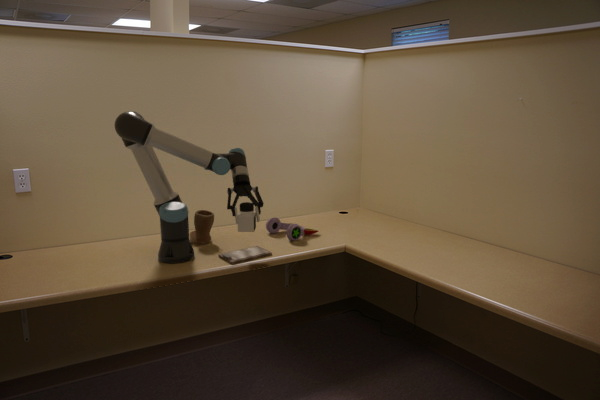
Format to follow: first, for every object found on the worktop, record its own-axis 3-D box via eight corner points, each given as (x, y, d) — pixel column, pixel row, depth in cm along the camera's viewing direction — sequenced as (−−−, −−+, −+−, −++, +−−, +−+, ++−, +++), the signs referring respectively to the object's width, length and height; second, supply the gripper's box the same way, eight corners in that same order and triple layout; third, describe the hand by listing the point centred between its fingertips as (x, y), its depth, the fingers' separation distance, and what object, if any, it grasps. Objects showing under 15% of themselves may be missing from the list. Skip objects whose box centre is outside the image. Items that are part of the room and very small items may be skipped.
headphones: (264, 219, 228) (294, 209, 241) (266, 237, 231) (295, 226, 243) (288, 227, 214) (319, 215, 226) (290, 246, 217) (320, 234, 229)
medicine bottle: (254, 232, 192) (254, 204, 189) (237, 232, 192) (237, 204, 189) (256, 227, 198) (255, 201, 196) (239, 227, 199) (239, 201, 196)
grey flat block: (232, 264, 186) (231, 259, 186) (218, 256, 195) (218, 252, 195) (271, 254, 198) (271, 250, 198) (257, 247, 207) (257, 243, 207)
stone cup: (216, 244, 213) (215, 213, 210) (190, 246, 210) (188, 215, 207) (213, 235, 227) (212, 206, 224) (189, 237, 224) (188, 207, 221)
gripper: (262, 181, 209) (271, 223, 197) (216, 184, 202) (222, 227, 191) (265, 172, 202) (273, 215, 191) (217, 174, 196) (223, 218, 185)
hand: (248, 221), depth 191 cm, fingers closed on medicine bottle, 8 cm apart
